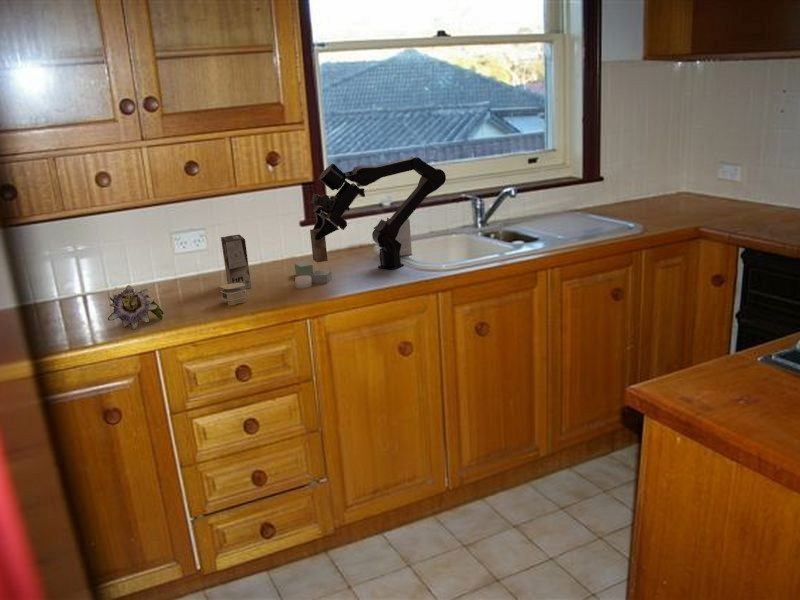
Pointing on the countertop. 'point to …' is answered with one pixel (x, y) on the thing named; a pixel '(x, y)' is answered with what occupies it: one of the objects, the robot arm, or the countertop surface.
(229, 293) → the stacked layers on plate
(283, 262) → the countertop surface
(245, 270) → the coffee box
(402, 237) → the small box
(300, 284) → the white tub
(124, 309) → the passion flower
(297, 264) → the green block
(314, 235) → the walnut block
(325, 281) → the grey block
